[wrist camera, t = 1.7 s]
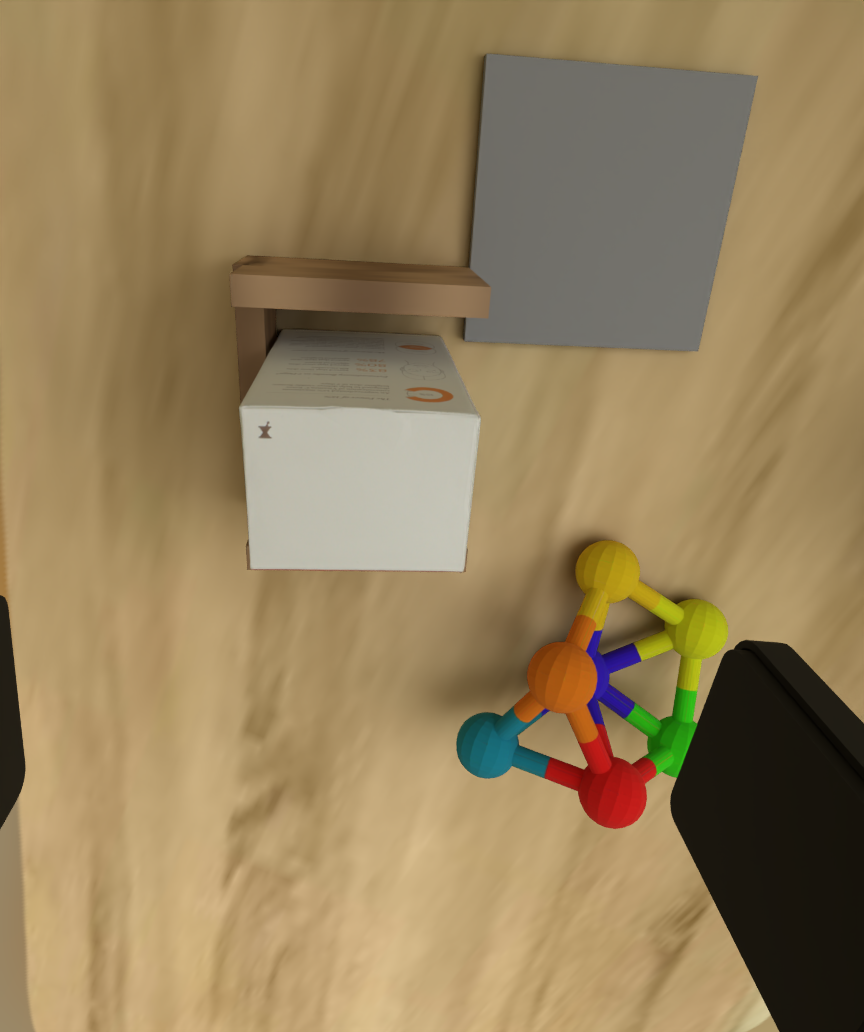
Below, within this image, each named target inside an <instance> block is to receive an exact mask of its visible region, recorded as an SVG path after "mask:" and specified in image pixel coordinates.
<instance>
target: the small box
mask: <svg viewBox="0 0 864 1032" xmlns="http://www.w3.org/2000/svg"><path fill="white" fill-rule="evenodd" d="M239 414H240V424H241V436H242V449H243V462H244V476H245V490H246V503H247V518H248V533H249V551H250V568H251V569H252V570H309V571H413V572H463V570H464V568H465V559H466V550H467V540H468V531H469V522H470V513H471V504H472V495H473V486H474V477H475V468H476V459H477V450H478V442H479V432H480V423H481V417H480V415H479V413H478V411H477V410H476V408H475V406H474V403H473V402H472V400H471V398H470V395H469V393H468V391H467V389H466V387H465V385H464V383H463V380H462V378H461V376H460V375H459V372H458V370H457V368H456V366H455V363H454V361H453V360H452V357H451V355H450V353H449V351H448V349H447V347H446V345H445V343H444V341H443V339H442V338H441V337H440V336H431V335H413V334H394V333H373V332H349V331H325V330H295V329H283V330H282V331H281V333H280V335H279V336H278V338H277V340H276V342H275V343H274V345H273V347H272V348H271V350H270V352H269V354H268V356H267V357H266V359H265V361H264V363H263V365H262V367H261V369H260V371H259V372H258V374H257V376H256V378H255V380H254V381H253V383H252V385H251V387H250V389H249V390H248V392H247V394H246V396H245V397H244V399H243V401H242V403H241V405H240V406H239Z"/></svg>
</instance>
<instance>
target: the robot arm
mask: <svg viewBox="0 0 864 1032" xmlns="http://www.w3.org/2000/svg"><path fill="white" fill-rule="evenodd" d="M24 777H25V757H24V748H23V739H22V729H21V720H20V711H19V702H18V693H17V684H16V674H15V665H14V656H13V647H12V638H11V628H10V619H9V610H8V604H7V601H6V599H5V597H3V596H1V595H0V829H1V827H2V825H3V823H4V822H5V820H6V818H7V816H8V815H9V813H10V811H11V809H12V808H13V806H14V804H15V802H16V800H17V799H18V796H19V794H20V792H21V789H22V786H23V782H24ZM670 805H671V813H672V817H673V820H674V822H675V824H676V826H677V828H678V830H679V832H680V834H681V836H682V838H683V840H684V842H685V844H686V846H687V848H688V850H689V852H690V854H691V856H692V858H693V860H694V862H695V864H696V866H697V868H698V870H699V872H700V874H701V876H702V878H703V880H704V882H705V884H706V886H707V888H708V890H709V892H710V894H711V896H712V898H713V900H714V902H715V904H716V906H717V908H718V910H719V912H720V914H721V916H722V918H723V920H724V922H725V924H726V926H727V928H728V930H729V932H730V934H731V936H732V938H733V940H734V942H735V944H736V946H737V948H738V950H739V952H740V954H741V956H742V958H743V960H744V962H745V964H746V966H747V968H748V970H749V972H750V974H751V976H752V978H753V980H754V982H755V984H756V986H757V988H758V990H759V992H760V994H761V996H762V998H763V1000H764V1002H765V1004H766V1006H767V1008H768V1010H769V1012H770V1014H771V1016H772V1018H773V1020H774V1022H775V1023H776V1026H777V1028H778V1030H779V1032H864V723H863V722H862V721H861V720H860V719H859V718H858V717H857V716H856V715H855V714H854V713H853V712H852V711H851V710H850V709H849V708H848V707H847V705H846V704H845V703H844V702H843V701H842V700H841V699H840V698H839V697H838V696H837V695H836V694H835V693H834V692H833V691H832V690H831V689H830V688H829V687H828V685H827V684H826V683H825V682H824V681H823V680H822V679H821V678H820V677H819V676H818V675H817V674H816V673H815V672H814V671H813V670H812V669H811V668H810V667H809V665H808V664H807V663H806V662H805V661H804V660H803V659H802V658H801V657H800V656H799V655H798V654H797V653H796V652H795V651H794V650H793V649H792V648H791V647H790V646H788V645H787V644H784V643H777V642H764V641H751V640H744V641H741V642H739V643H738V644H737V645H736V646H735V648H734V650H729V651H727V652H726V653H725V654H724V656H723V658H722V660H721V663H720V666H719V668H718V671H717V673H716V676H715V679H714V681H713V684H712V687H711V689H710V692H709V695H708V697H707V700H706V703H705V705H704V708H703V711H702V713H701V716H700V719H699V721H698V724H697V726H696V729H695V732H694V734H693V737H692V740H691V742H690V745H689V748H688V750H687V753H686V756H685V758H684V761H683V764H682V766H681V769H680V772H679V774H678V777H677V779H676V782H675V785H674V787H673V790H672V794H671V800H670Z"/></svg>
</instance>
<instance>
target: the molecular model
mask: <svg viewBox="0 0 864 1032" xmlns="http://www.w3.org/2000/svg"><path fill="white" fill-rule="evenodd" d="M575 572H576V579H577V583H578V585H579V587H580V588H581V590H582V591H583V592H584V593H585V597H584V600H583V602H582V604H581V606H580V609H579V611H578V613H577V615H576V618H575V620H574V622H573V625H572V627H571V629H570V631H569V634H568V636H567V638H566V640H565V642H555V643H550V644H548V645H546V646H544V647H542V648H541V649H540V650H538V651H537V652H536V653H535V655H534V656H533V657H532V659H531V661H530V663H529V666H528V671H527V681H528V685H529V689H530V691H529V692H528V693H527V694H526V695H525V696H524V697H523V698H522V699H521V700H519V701H518V702H517V703H516V704H515V705H514V706H513V707H512V708H511V709H510V710H509V711H508V712H507V713H505V714H504V715H503V716H500V715H498V714H495V713H488V712H484V713H479V714H476V715H474V716H472V717H470V718H469V719H467V720H466V721H465V722H464V724H463V725H462V726H461V728H460V730H459V732H458V736H457V754H458V758H459V760H460V762H461V764H462V765H463V766H464V767H465V768H466V769H467V770H468V771H469V772H470V773H472V774H473V775H475V776H477V777H481V778H495V777H499V776H501V775H503V774H504V773H506V772H507V771H508V770H509V769H510V768H511V766H514V767H516V768H519V769H521V770H524V771H527V772H529V773H532V774H535V775H537V776H540V777H542V778H545V779H548V780H550V781H553V782H555V783H558V784H561V785H563V786H566V787H568V788H571V789H574V790H576V791H578V795H579V799H580V802H581V804H582V807H583V809H584V811H585V812H586V814H587V815H588V816H589V817H590V818H591V819H592V820H593V821H595V822H596V823H597V824H599V825H601V826H604V827H607V828H614V829H617V828H623V827H626V826H629V825H631V824H633V823H634V822H635V821H637V820H638V819H639V817H640V816H641V815H642V813H643V811H644V809H645V806H646V800H647V794H646V787H645V783H647V782H648V781H649V780H651V779H652V778H653V777H655V776H656V775H658V774H659V773H660V772H663V773H665V774H667V775H669V776H672V777H676V778H677V777H678V774H679V772H680V769H681V766H682V764H683V761H684V758H685V756H686V753H687V750H688V748H689V745H690V742H691V740H692V737H693V734H694V732H695V729H696V726H697V723H695V722H694V721H693V716H694V709H695V702H696V696H697V689H698V682H699V675H700V669H701V662H702V659H706V658H709V657H711V656H713V655H715V654H716V653H718V652H719V651H720V650H721V649H722V647H723V646H724V644H725V642H726V640H727V636H728V625H727V622H726V619H725V617H724V615H723V614H722V612H721V611H720V610H719V609H718V608H717V607H716V606H714V605H713V604H711V603H709V602H707V601H704V600H700V599H689V600H685V601H682V602H680V603H678V604H677V605H676V604H675V603H673V602H672V601H670V600H669V599H667V598H665V597H664V596H662V595H661V594H659V593H658V592H656V591H655V590H653V589H652V588H650V587H649V586H647V585H646V584H644V583H643V582H641V581H640V580H639V576H640V567H639V563H638V560H637V558H636V556H635V554H634V553H633V552H632V551H631V550H630V549H629V548H628V547H627V546H625V545H624V544H622V543H619V542H616V541H612V540H603V541H599V542H596V543H594V544H592V545H590V546H588V547H587V548H586V549H585V550H584V551H583V552H582V553H581V555H580V556H579V558H578V560H577V563H576V568H575ZM627 597H628V598H630V599H632V600H633V601H635V602H636V603H638V604H639V605H641V606H642V607H644V608H646V609H647V610H649V611H650V612H652V613H653V614H655V615H656V616H658V617H660V618H661V619H663V620H664V621H665V625H664V629H665V630H664V631H662V632H659V633H657V634H654V635H652V636H649V637H647V638H644V639H641V640H639V641H636V642H634V643H631V644H629V645H626V646H624V647H621V648H619V649H616V650H614V651H611V652H608V653H606V654H603V655H601V654H600V653H599V652H598V651H597V648H598V645H599V641H600V637H601V634H602V630H603V626H604V623H605V619H606V616H607V612H608V608H609V605H610V603H615V602H619V601H621V600H623V599H625V598H627ZM672 649H674V650H675V651H676V652H677V653H679V654H680V655H681V660H680V667H679V673H678V680H677V687H676V694H675V700H674V707H673V714H672V716H670V717H666V718H664V719H662V720H660V721H659V720H658V719H656V718H655V717H654V716H652V715H651V714H650V713H648V712H647V711H645V710H644V709H643V708H641V707H640V706H639V705H637V704H636V703H635V702H633V701H632V700H630V699H629V698H628V697H626V696H625V695H624V694H622V693H621V692H619V691H618V690H617V689H615V688H614V687H613V686H611V685H610V684H609V674H610V673H613V672H615V671H618V670H620V669H623V668H626V667H628V666H631V665H633V664H636V663H638V662H641V661H643V660H646V659H649V658H651V657H654V656H656V655H659V654H661V653H664V652H667V651H669V650H672ZM597 700H599V701H600V702H602V703H603V704H604V705H606V706H607V707H608V708H610V709H611V710H613V711H614V712H615V713H617V714H618V715H619V716H621V717H622V718H623V719H625V720H626V721H628V722H629V723H630V724H632V725H633V726H634V727H636V728H637V729H638V730H640V731H641V732H643V733H644V734H645V735H647V736H648V741H647V747H648V752H649V753H648V754H647V755H645V756H644V757H642V758H641V759H639V760H638V761H636V762H635V763H633V764H632V765H631V764H630V763H629V762H627V761H625V760H623V759H620V758H617V757H614V756H613V753H612V749H611V746H610V742H609V739H608V735H607V732H606V729H605V725H604V722H603V718H602V715H601V711H600V708H599V704H598V701H597ZM548 711H552V712H556V713H566V716H567V718H568V720H569V722H570V725H571V727H572V729H573V731H574V734H575V736H576V738H577V741H578V743H579V745H580V747H581V750H582V752H583V754H584V756H585V759H586V761H587V763H588V766H587V767H586V768H585V770H584V769H581V768H578V767H576V766H573V765H570V764H568V763H565V762H562V761H560V760H557V759H554V758H551V757H549V756H546V755H543V754H541V753H538V752H535V751H533V750H530V749H527V748H525V747H522V746H519V740H518V736H517V735H519V734H520V733H521V732H523V731H524V730H525V729H526V728H528V727H529V726H530V725H532V724H533V723H534V722H536V721H537V720H538V719H539V718H541V717H542V716H543V715H545V714H546V713H547V712H548Z"/></svg>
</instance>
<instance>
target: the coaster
mask: <svg viewBox="0 0 864 1032" xmlns="http://www.w3.org/2000/svg"><path fill="white" fill-rule="evenodd" d="M757 78H758V76H751V75H739V74H727V73H715V72H703V71H691V70H679V69H667V68H654V67H642V66H630V65H618V64H606V63H594V62H582V61H570V60H558V59H546V58H534V57H522V56H510V55H498V54H486V55H485V59H484V72H483V86H482V99H481V112H480V125H479V138H478V151H477V164H476V177H475V191H474V204H473V217H472V230H471V243H470V256H469V268H470V269H471V270H472V271H473V272H475V273H476V274H477V275H478V276H479V277H480V278H481V279H483V280H484V281H485V282H486V283H487V284H488V285H489V286H491V295H490V306H489V317H488V318H467V317H465V322H464V335H463V339H464V341H469V342H493V343H516V344H539V345H562V346H585V347H609V348H632V349H655V350H678V351H698V349H699V345H700V340H701V336H702V331H703V327H704V322H705V317H706V313H707V308H708V304H709V299H710V294H711V290H712V285H713V281H714V276H715V271H716V267H717V262H718V258H719V253H720V248H721V244H722V239H723V235H724V230H725V225H726V221H727V216H728V212H729V207H730V202H731V198H732V193H733V189H734V184H735V179H736V175H737V170H738V166H739V161H740V157H741V152H742V147H743V143H744V138H745V134H746V129H747V124H748V120H749V115H750V111H751V106H752V101H753V97H754V92H755V88H756V83H757Z"/></svg>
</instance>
